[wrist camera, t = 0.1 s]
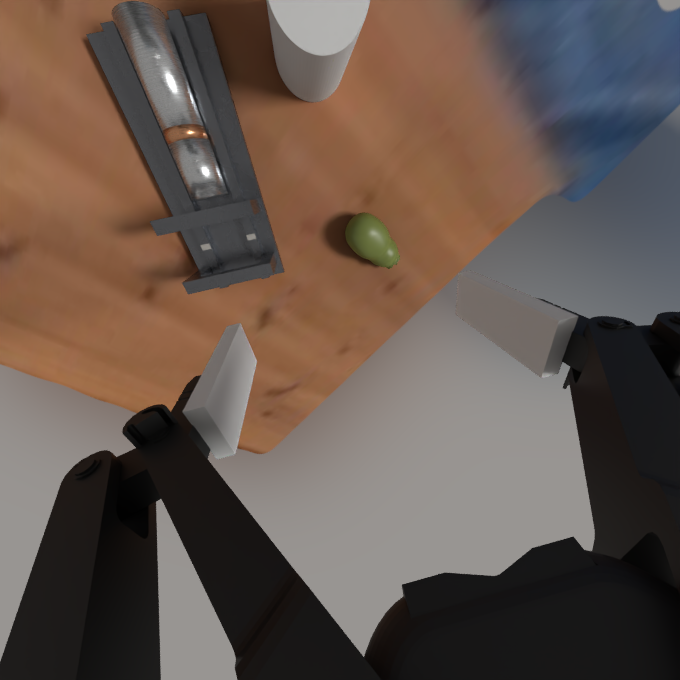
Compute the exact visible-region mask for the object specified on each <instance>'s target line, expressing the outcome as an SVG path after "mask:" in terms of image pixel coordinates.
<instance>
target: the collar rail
mask: <svg viewBox="0 0 680 680" xmlns="http://www.w3.org/2000/svg"><path fill="white" fill-rule="evenodd" d="M167 13H168V16H169V19H168V20H166V22H167V25H168V28H169V30H170V33H171V36H172V39H173V42H174V44H175V47H176V50H177V53H178V55H179V58H180V61H181V64H182V67H183V69H184V72H185V75H186V78H187V80H188V83H189V86H190V89H191V92H192V94H193V97H194V100H195V103H196V105H197V108H198V111H199V114H200V116H201V119H202V122H203V125H204V128H205V130H206V133H207V136H208V139H209V141H210V144H211V147H212V150H213V153H214V155H215V158H216V161H217V164H218V166H219V169H220V172H221V175H222V178H223V180H224V183H225V186H226V189H227V191H228V194H226V195H222V196H218V197H213V198H208V199H203V200H196V201H192V200H191V198H190V195H189V193H188V191H187V188H186V186H185V184H184V181H183V179H182V177H181V174H180V172H179V170H178V167H177V165H176V163H175V160H174V158H173V156H172V154H171V151H170V149H169V147H168V144H167V142H166V140H165V137H164V135H163V133H162V130H161V128H160V126H159V123H158V121H157V119H156V116H155V114H154V112H153V110H152V107H151V105H150V103H149V100H148V98H147V96H146V93H145V91H144V89H143V86H142V84H141V82H140V79H139V77H138V75H137V72H136V70H135V68H134V65H133V63H132V61H131V59H130V56H129V54H128V52H127V49H126V47H125V45H124V42H123V40H122V38H121V35H120V33H119V31H118V28H117V26H116V24H115V23H114V22H113V21H111V22H105V23H100V24H101V26H102V28H103V30H104V31H103V32H97V33H92V34H86V35H87V37H88V39H89V42H90V44H91V46H92V48H93V50H94V52H95V54H96V56H97V58H98V60H99V62H100V64H101V67H102V69H103V71H104V73H105V75H106V77H107V79H108V81H109V83H110V85H111V87H112V90H113V92H114V94H115V96H116V98H117V100H118V102H119V104H120V106H121V108H122V110H123V112H124V115H125V117H126V119H127V121H128V123H129V125H130V127H131V129H132V131H133V133H134V135H135V138H136V140H137V142H138V144H139V146H140V148H141V150H142V152H143V154H144V156H145V158H146V160H147V163H148V165H149V167H150V169H151V171H152V173H153V175H154V177H155V179H156V181H157V183H158V186H159V188H160V190H161V192H162V194H163V196H164V198H165V200H166V202H167V204H168V206H169V208H170V211H171V213H172V215H173V217H168V218H163V219H159V220H154V221H150V223H151V225H152V227H153V229H154V231H155V232H156V234H157V236H159V235H164V234H168V233H173V232H178V231H181V234H182V236H183V238H184V240H185V242H186V244H187V246H188V248H189V250H190V252H191V254H192V256H193V259H194V261H195V263H196V265H197V267H198V269H199V270H198V271H197V272H196V273H194V274H193V275H192V276H191V277H189V278H188V279H187V280H185V281H184V282H183V283H182V284H183V285H184V287H185V289H186V291H187V293H188V294H192V293H196V292H200V291H205V290H209V289H214V288H218V287H220V288H225V287H228V286H229V285H231V284H236V283H240V282H244V281H249V280H253V279H257V278H262V279H264V278H269V277H270V276H271V275H274V274H277V273H282V272H284V268H283V265H282V262H281V258H280V255H279V252H278V248H277V245H276V242H275V238H274V235H273V232H272V228H271V225H270V222H269V218H268V215H267V212H266V208H265V205H264V202H263V198H262V195H261V192H260V189H259V185H258V182H257V179H256V175H255V172H254V169H253V165H252V162H251V159H250V155H249V152H248V149H247V145H246V142H245V139H244V135H243V132H242V129H241V125H240V122H239V119H238V115H237V112H236V109H235V106H234V102H233V99H232V96H231V92H230V89H229V86H228V82H227V79H226V76H225V72H224V69H223V66H222V62H221V59H220V56H219V52H218V49H217V46H216V42H215V39H214V36H213V32H212V29H211V26H210V23H209V19H208V17H207V15H206V13H200V14H195V15H190V16H183V14H182V13H181V11H180V10H179V9H176V10H171V11H167Z"/></svg>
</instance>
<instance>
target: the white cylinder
mask: <svg viewBox="0 0 680 680" xmlns="http://www.w3.org/2000/svg"><path fill="white" fill-rule="evenodd" d="M266 2H267V8H268V15H269V22H270V29H271V35H272V42H273V49H274V55H275V61H276V65H277V68H278V71H279V74H280V76H281V78H282V80H283V82H284V83H285V85H286V86H287V88H288V89H289V90H290V91H291V92H292V93H293V94H294V95H295V96H297V97H298V98H300V99H302V100H304V101H307V102H319V101H323V100H325V99H326V98H328V97H329V96H330V95H332V94H333V93H334V91H335V90H336V89H337V87H338V85H339V83H340V81H341V79H342V76H343V74H344V71H345V68H346V66H347V63H348V61H349V58H350V56H351V53H352V51H353V48H354V46H355V43H356V40H357V38H358V35H359V33H360V30H361V28H362V25H363V23H364V20H365V17H366V14H367V11H368V7H369V3H370V0H266Z"/></svg>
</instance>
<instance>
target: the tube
mask: <svg viewBox="0 0 680 680" xmlns="http://www.w3.org/2000/svg"><path fill="white" fill-rule="evenodd" d="M112 17H113V19H114V21H115V24H116V26H117V28H118V31H119V33H120V35H121V38H122V40H123V42H124V45H125V47H126V49H127V52H128V54H129V56H130V59H131V61H132V63H133V65H134V68H135V70H136V72H137V75H138V77H139V79H140V82H141V84H142V86H143V89H144V91H145V93H146V96H147V98H148V100H149V103H150V105H151V107H152V110H153V112H154V114H155V116H156V119H157V121H158V123H159V126H160V128H161V130H162V133H163V135H164V137H165V140H166V142H167V144H168V147H169V149H170V151H171V154H172V156H173V158H174V160H175V163H176V165H177V167H178V170H179V172H180V174H181V177H182V179H183V181H184V184H185V186H186V188H187V191H188V193H189V195H190V198H191V200H192V201H196V200H203V199H208V198H213V197H218V196H222V195H226V194H228V191H227V189H226V186H225V183H224V180H223V178H222V175H221V172H220V169H219V166H218V164H217V161H216V158H215V155H214V153H213V150H212V147H211V144H210V141H209V139H208V136H207V133H206V130H205V128H204V125H203V122H202V119H201V116H200V114H199V111H198V108H197V105H196V103H195V100H194V97H193V94H192V92H191V89H190V86H189V83H188V80H187V78H186V75H185V72H184V69H183V67H182V64H181V61H180V58H179V55H178V53H177V50H176V47H175V44H174V42H173V39H172V36H171V33H170V30H169V28H168V25H167V22H166V19H165V17H164V14H163V13H162V12H161V11H160V10H159V9H158V8H156V7H155V6H153V5H150V4H148V3H144V2H138V1H128V2H123V3H120V4H118V5H116V6H115V7H114V8H113V10H112Z"/></svg>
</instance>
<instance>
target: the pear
mask: <svg viewBox="0 0 680 680" xmlns="http://www.w3.org/2000/svg"><path fill="white" fill-rule="evenodd" d="M345 237H346V241H347V243H348V244H349V246H350V247H351V248H352V250H353V251H354V252H355V253H357V254H358V255H359V256H361V257H362V258H365V259H368V260H370V261H371V262H372V263H373V264H375V265H377V266H381V267H386V268H388V269H390V268H392V266H393V265H394V264H395V265H397V262H398V261H399V260H400V255H399V254H398V248H397V246H396V244H395V242H394V241H393V240H392V239H391V237H390V236H389V232H388V230H387V228H386V226H385V225H384V224H383V223H382V222H381V221H380V220H379V219H378V218H376V217H375V216H373V215H371V214H369V213H359V214H357V215H355V216H354V217H353V218H352V219H351V220H350V221H349V222H348V224H347V227H346V230H345Z"/></svg>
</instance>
